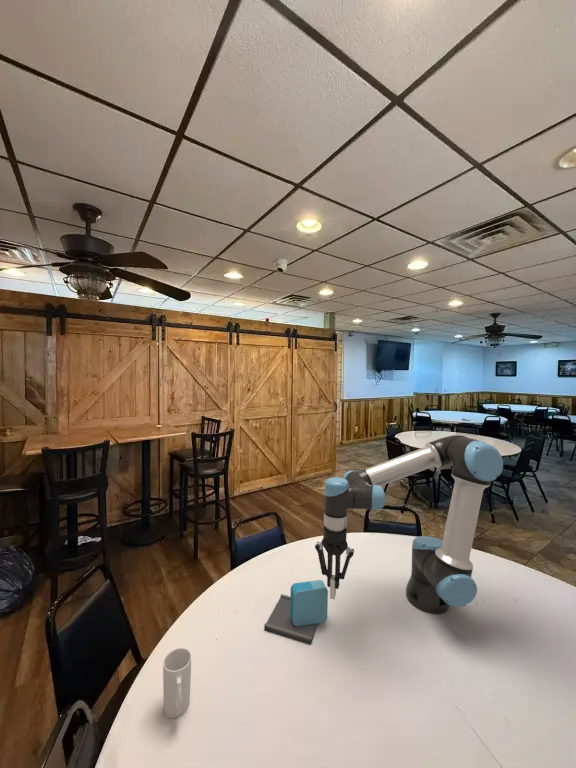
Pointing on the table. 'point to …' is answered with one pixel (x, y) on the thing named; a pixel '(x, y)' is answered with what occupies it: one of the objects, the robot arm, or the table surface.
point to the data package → (308, 603)
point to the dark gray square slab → (288, 623)
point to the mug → (176, 682)
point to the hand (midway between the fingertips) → (332, 596)
